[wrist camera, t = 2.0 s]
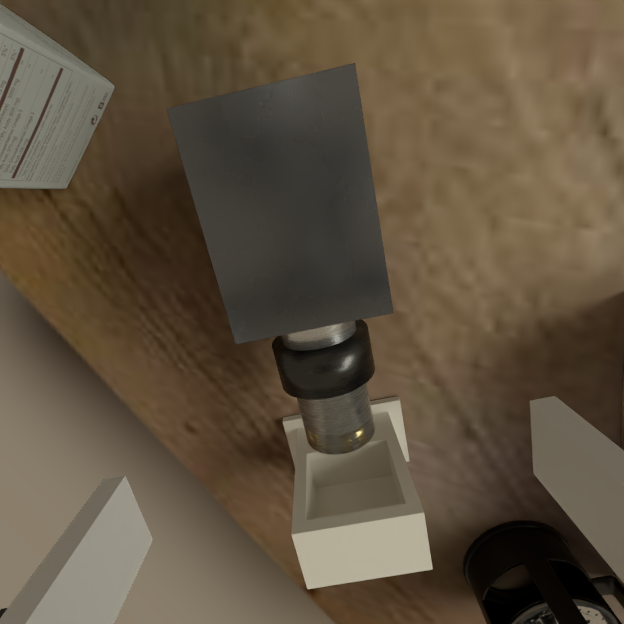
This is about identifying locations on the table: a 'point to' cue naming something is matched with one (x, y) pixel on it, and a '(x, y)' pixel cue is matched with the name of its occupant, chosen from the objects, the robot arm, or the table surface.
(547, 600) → the french press
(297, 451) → the socket
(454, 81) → the table surface
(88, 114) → the supplement box
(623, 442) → the box
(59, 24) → the table surface
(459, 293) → the table surface
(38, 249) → the table surface
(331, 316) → the dark grey block
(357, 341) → the rod
